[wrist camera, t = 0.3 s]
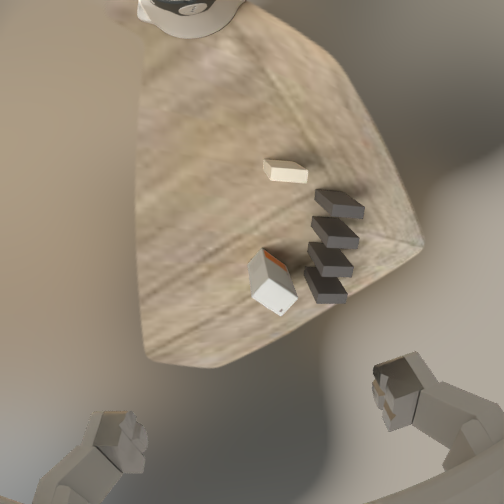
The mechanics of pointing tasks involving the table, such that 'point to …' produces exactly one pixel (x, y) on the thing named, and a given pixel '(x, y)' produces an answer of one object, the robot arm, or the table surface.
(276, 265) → the skincare box
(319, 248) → the domino
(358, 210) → the domino
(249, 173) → the table surface
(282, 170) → the domino
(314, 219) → the domino
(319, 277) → the domino
